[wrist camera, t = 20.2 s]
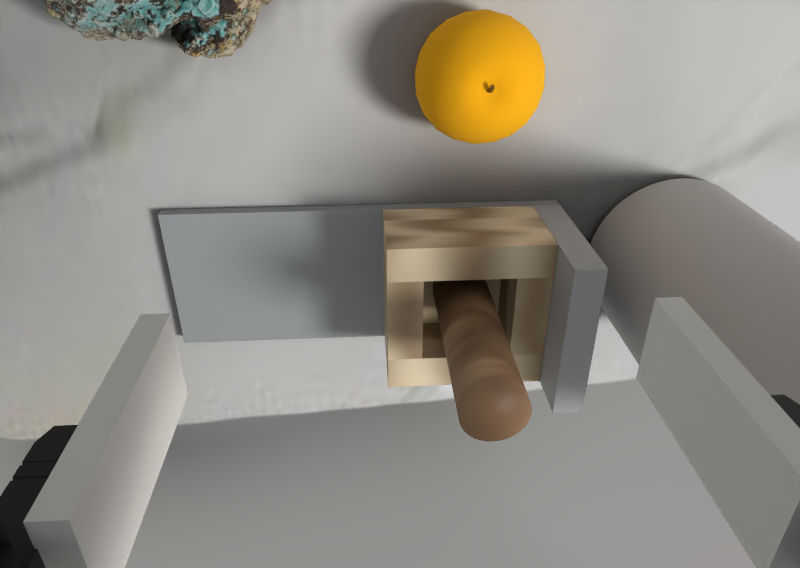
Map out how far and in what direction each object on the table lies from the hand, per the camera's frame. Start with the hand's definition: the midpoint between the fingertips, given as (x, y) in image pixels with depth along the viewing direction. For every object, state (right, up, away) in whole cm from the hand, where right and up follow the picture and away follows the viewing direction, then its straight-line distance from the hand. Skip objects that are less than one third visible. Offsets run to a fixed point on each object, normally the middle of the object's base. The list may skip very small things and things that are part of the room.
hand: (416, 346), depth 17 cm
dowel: (+4, +1, +29) cm, 29 cm away
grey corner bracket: (-3, +3, +31) cm, 32 cm away
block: (+4, +2, +31) cm, 31 cm away
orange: (+4, +16, +24) cm, 30 cm away
